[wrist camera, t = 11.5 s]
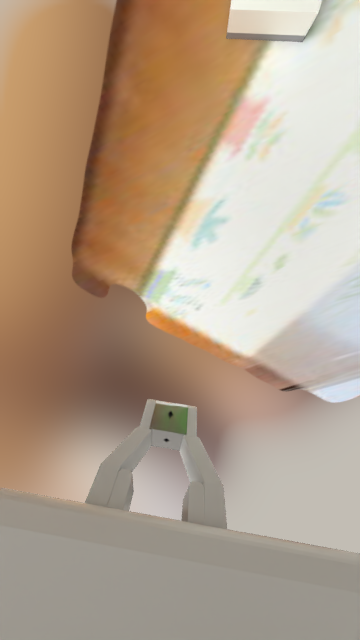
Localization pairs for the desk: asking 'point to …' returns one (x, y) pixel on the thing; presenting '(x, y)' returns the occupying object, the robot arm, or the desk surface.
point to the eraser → (271, 19)
